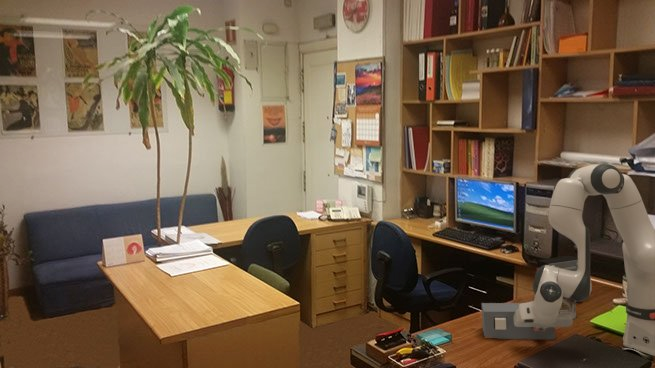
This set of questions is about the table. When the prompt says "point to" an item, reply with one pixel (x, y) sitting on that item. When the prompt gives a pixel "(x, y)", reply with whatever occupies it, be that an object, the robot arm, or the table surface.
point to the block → (509, 323)
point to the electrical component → (561, 263)
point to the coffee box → (568, 305)
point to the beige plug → (500, 323)
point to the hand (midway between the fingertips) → (540, 328)
